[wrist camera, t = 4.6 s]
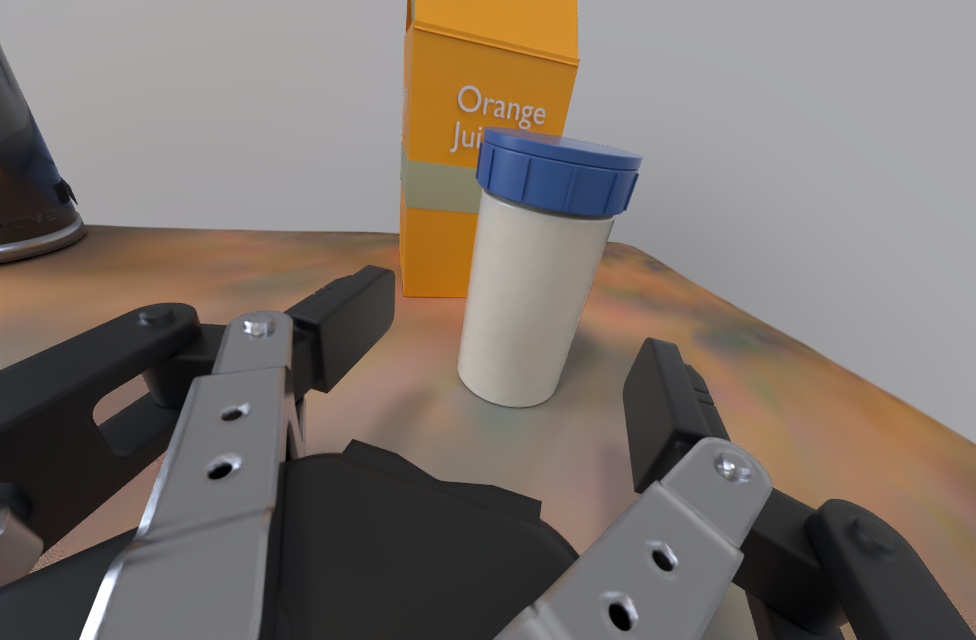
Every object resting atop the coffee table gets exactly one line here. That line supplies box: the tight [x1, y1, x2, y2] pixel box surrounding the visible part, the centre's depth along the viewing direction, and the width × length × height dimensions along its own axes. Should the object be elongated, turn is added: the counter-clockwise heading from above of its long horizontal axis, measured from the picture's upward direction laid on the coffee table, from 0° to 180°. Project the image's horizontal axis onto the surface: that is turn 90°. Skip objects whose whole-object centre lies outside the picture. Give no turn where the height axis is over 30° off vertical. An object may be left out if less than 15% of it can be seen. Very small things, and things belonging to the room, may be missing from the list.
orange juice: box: [399, 0, 580, 298], centre depth 23 cm, size 8×9×20 cm
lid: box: [476, 127, 642, 216], centre depth 13 cm, size 6×6×2 cm
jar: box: [457, 188, 615, 408], centre depth 16 cm, size 5×5×11 cm
